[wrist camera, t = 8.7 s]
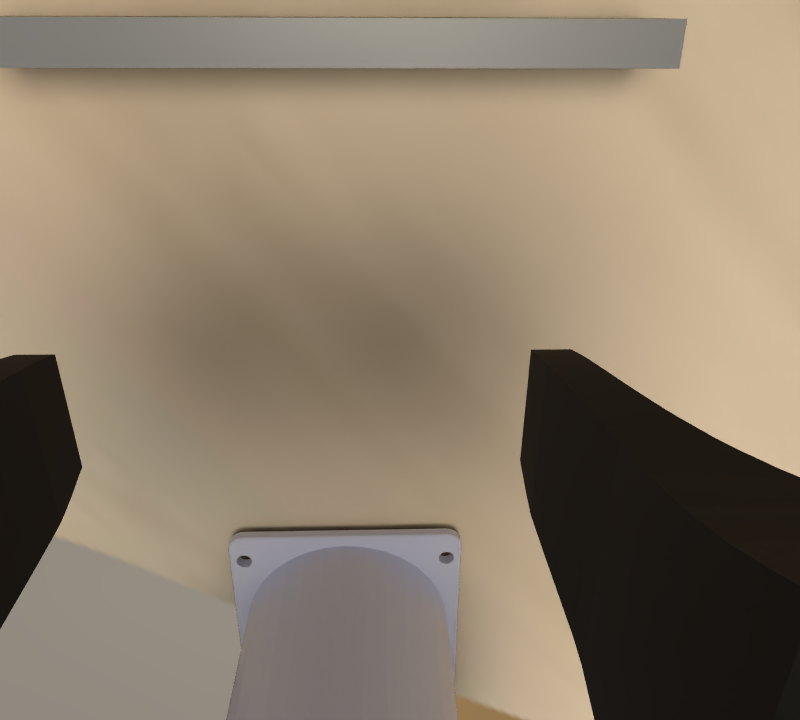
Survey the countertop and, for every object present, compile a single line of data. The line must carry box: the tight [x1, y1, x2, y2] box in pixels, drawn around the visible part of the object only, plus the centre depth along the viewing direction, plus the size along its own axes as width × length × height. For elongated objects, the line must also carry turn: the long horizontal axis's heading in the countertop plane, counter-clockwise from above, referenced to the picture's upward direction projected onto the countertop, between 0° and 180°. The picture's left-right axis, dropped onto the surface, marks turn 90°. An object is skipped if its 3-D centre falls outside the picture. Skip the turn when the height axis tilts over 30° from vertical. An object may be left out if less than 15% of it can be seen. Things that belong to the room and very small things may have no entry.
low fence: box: [0, 16, 687, 69], centre depth 17 cm, size 1×16×3 cm, turn 90°
